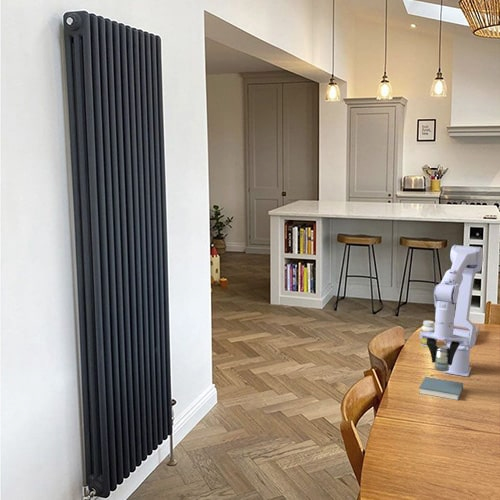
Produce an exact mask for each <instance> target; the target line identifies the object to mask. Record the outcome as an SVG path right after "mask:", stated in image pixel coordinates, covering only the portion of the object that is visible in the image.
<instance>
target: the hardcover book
mask: <svg viewBox="0 0 500 500" xmlns="http://www.w3.org/2000/svg"><path fill="white" fill-rule="evenodd" d="M418 388H419V392H418V394H419V395H425V396H431V397H435V398H441V399H446V400H451V401H453V400H454V401H459V400H460V397H461V395H462V392H463V390H464V383H463V382H458V381H453V380H447V379H440V378H434V377H428V376H425V377H424V379H423V380H422V382H421V383H420V385H419V387H418Z"/></svg>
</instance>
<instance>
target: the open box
mask: <svg viewBox="0 0 500 500" xmlns="http://www.w3.org/2000/svg"><path fill="white" fill-rule="evenodd" d="M473 324H474V325H475V327H476V341H475V343H476V342H477V341H478V338H479V336H478V335H480V333H481V332H480V331H481V329H480V328H481V324H479V323H473ZM433 327H435V323H434V326H433ZM454 327H455V328H461V329H468V328H465V327H459V326H454ZM468 330H469V329H468ZM477 337H478V338H477Z"/></svg>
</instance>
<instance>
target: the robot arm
mask: <svg viewBox="0 0 500 500" xmlns="http://www.w3.org/2000/svg"><path fill="white" fill-rule="evenodd" d="M449 253H450V254H449V256H450V257H449V258H450V261H451V267H450V268H449V269H448V270H446V272H445V273H444V275H443V276H442V280H441V281H440V283H438V284H436V285H435V286H434V289H433V290H434V292H433V301H434V308H435V317H434V320H435V321H434V324H435V331H434V332H423V331H421V330H420V332H419V339H420V340H421V339H423V338H424V339H427V342H426V343H427V346H428V347H427V348H428V350H429V353H430V357H431V362H432V363H433V364H435V347H436V346H437V342H438V341H440V342H444V344H445V345H446V346H448V347H450V358H449V370H448V371H443V373H444V374H449V375H456V376H462V377H469V375H470V373H471V370H472V366H470V356H471V355H470V353H471V349H472V348H474V347H475V344H476V342H477V340H476V327H475V325H474V324H475V323H473V322H472V321H471V320H470V314H471V313H470V312H471V311H470V310H471V306H472V305H471V304H472V297H473V296H472V295H473V288H474V282H475V281H474V280H475V278H476V277H475V276H476V274H477V273H479V272H481V270H482V268H483V261H484V249H483V247H481V246H469V245H467V246H466V245H458V244H453V245H452V246H451V249H450V252H449ZM454 326H459V327H465V328H468V329H469V330H468V329H461V328H455V327H454ZM475 341H476V342H475Z"/></svg>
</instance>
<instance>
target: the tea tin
mask: <svg viewBox="0 0 500 500" xmlns="http://www.w3.org/2000/svg"><path fill="white" fill-rule="evenodd" d="M449 358H450V347H448V346H447V345H436V347H435V362H434V367H433V368H434V370H435V371H438V372H439V371H440V372H444V371H448V370H449Z"/></svg>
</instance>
